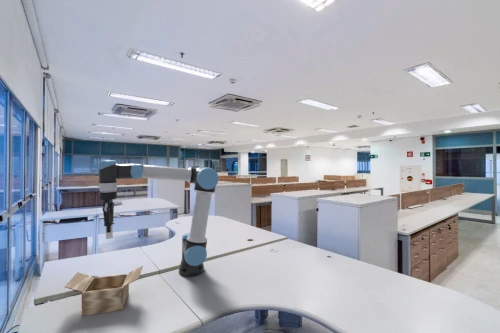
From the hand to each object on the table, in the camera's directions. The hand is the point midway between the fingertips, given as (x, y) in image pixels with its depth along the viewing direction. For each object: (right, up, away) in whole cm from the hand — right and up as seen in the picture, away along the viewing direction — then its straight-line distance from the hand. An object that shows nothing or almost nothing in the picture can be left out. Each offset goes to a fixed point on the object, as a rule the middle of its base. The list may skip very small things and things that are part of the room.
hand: (109, 238), depth 119 cm
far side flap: (-4, -18, -10) cm, 21 cm away
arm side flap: (+11, -18, -5) cm, 22 cm away
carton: (+3, -28, -8) cm, 30 cm away
